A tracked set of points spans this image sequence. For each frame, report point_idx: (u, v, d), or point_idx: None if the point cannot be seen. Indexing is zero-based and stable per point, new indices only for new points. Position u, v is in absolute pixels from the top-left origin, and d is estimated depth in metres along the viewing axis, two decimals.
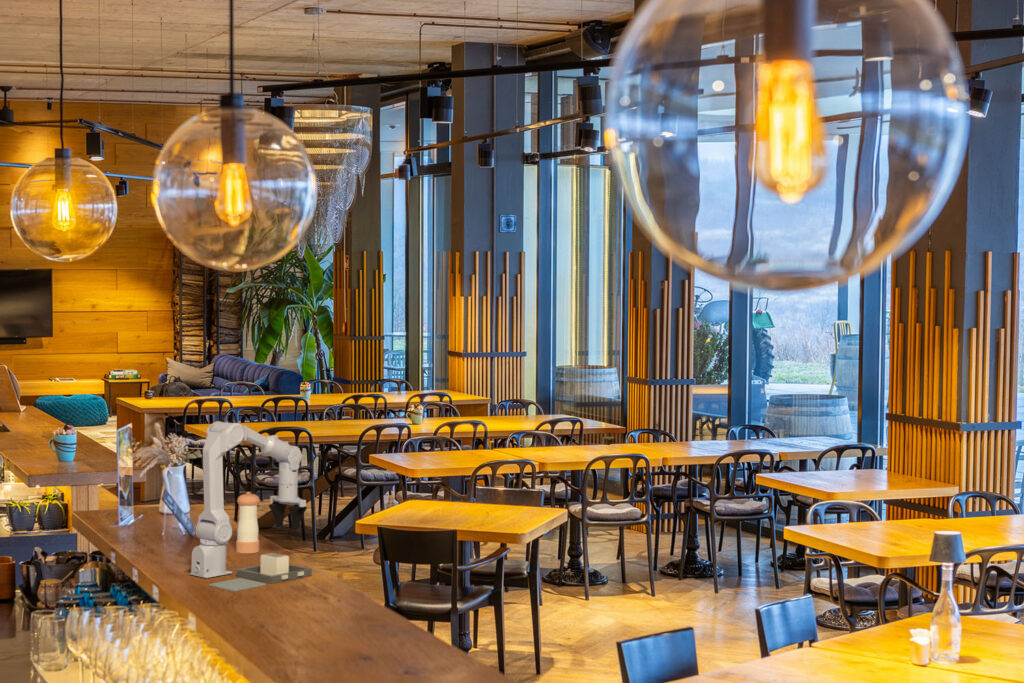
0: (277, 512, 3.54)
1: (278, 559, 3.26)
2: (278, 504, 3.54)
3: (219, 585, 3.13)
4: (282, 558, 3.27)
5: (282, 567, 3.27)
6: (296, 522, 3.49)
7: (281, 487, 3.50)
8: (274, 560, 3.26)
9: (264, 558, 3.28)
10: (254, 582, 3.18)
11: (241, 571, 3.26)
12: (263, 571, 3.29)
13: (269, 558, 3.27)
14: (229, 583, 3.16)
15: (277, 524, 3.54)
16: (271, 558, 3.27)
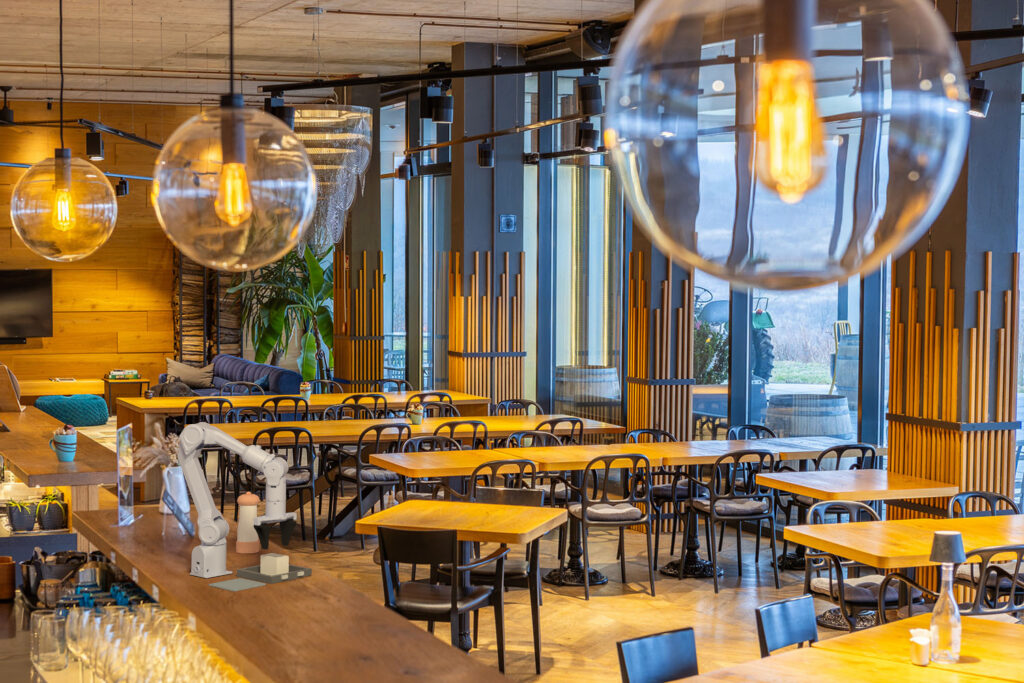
0: (282, 529, 3.33)
1: (278, 559, 3.26)
2: (284, 521, 3.32)
3: (219, 585, 3.13)
4: (282, 558, 3.27)
5: (282, 567, 3.27)
6: (263, 541, 3.26)
7: None
8: (274, 560, 3.26)
9: (264, 558, 3.28)
10: (254, 582, 3.18)
11: (241, 571, 3.26)
12: (263, 571, 3.29)
13: (269, 558, 3.27)
14: (229, 583, 3.16)
15: (282, 542, 3.32)
16: (271, 558, 3.27)
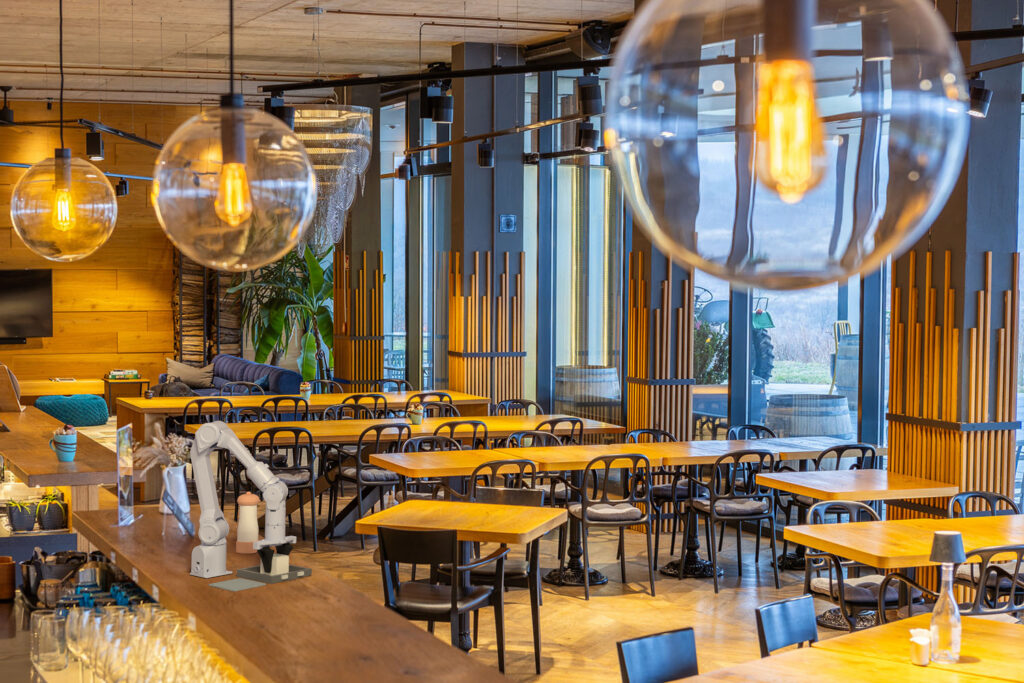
0: None
1: (278, 559, 3.26)
2: (280, 545, 3.31)
3: (219, 585, 3.13)
4: (282, 558, 3.27)
5: (282, 567, 3.27)
6: (266, 565, 3.27)
7: None
8: (274, 560, 3.26)
9: None
10: (254, 582, 3.18)
11: (241, 571, 3.26)
12: (263, 571, 3.29)
13: None
14: (229, 583, 3.16)
15: None
16: None
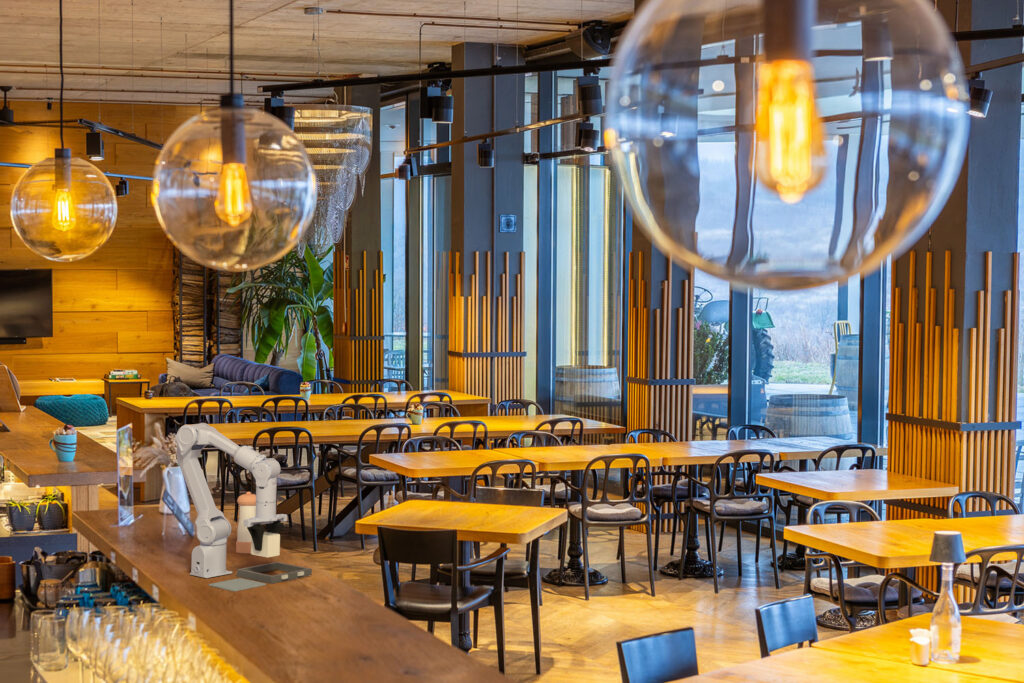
0: None
1: (269, 537, 3.22)
2: (270, 523, 3.28)
3: (219, 585, 3.13)
4: (273, 536, 3.23)
5: (273, 545, 3.23)
6: (256, 542, 3.23)
7: None
8: (265, 538, 3.22)
9: None
10: (254, 582, 3.18)
11: (241, 571, 3.26)
12: (254, 549, 3.25)
13: None
14: (229, 583, 3.16)
15: None
16: None
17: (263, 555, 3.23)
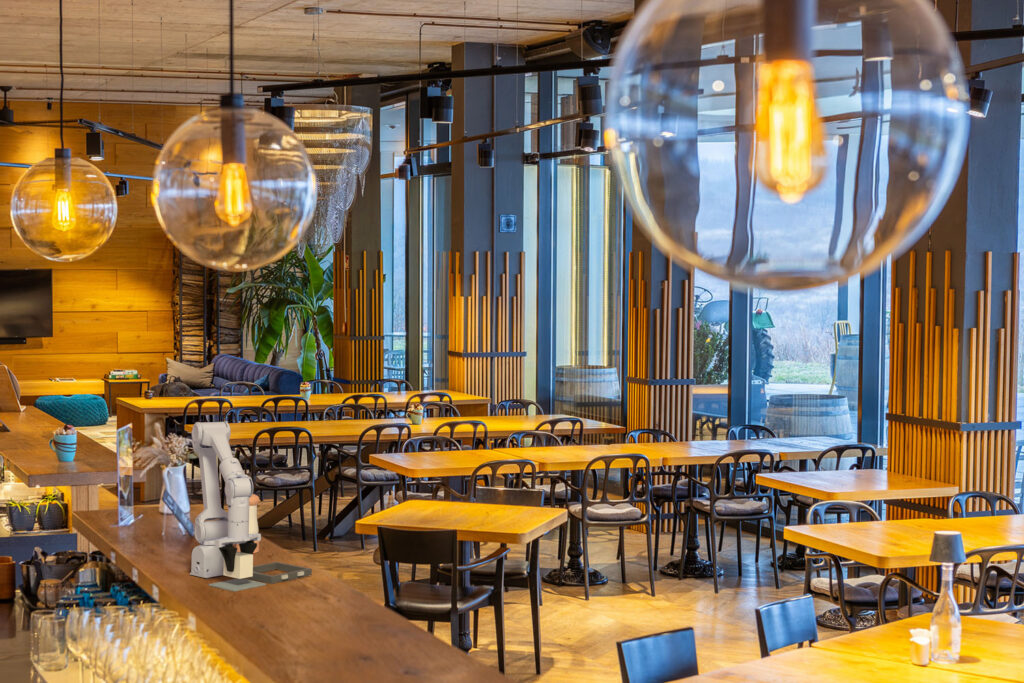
0: (242, 552, 3.18)
1: (241, 558, 3.12)
2: (243, 543, 3.18)
3: (219, 585, 3.13)
4: (246, 557, 3.14)
5: (245, 566, 3.14)
6: (228, 563, 3.14)
7: None
8: (237, 559, 3.12)
9: None
10: (254, 582, 3.18)
11: None
12: (226, 570, 3.15)
13: None
14: (229, 583, 3.16)
15: None
16: None
17: (235, 576, 3.13)
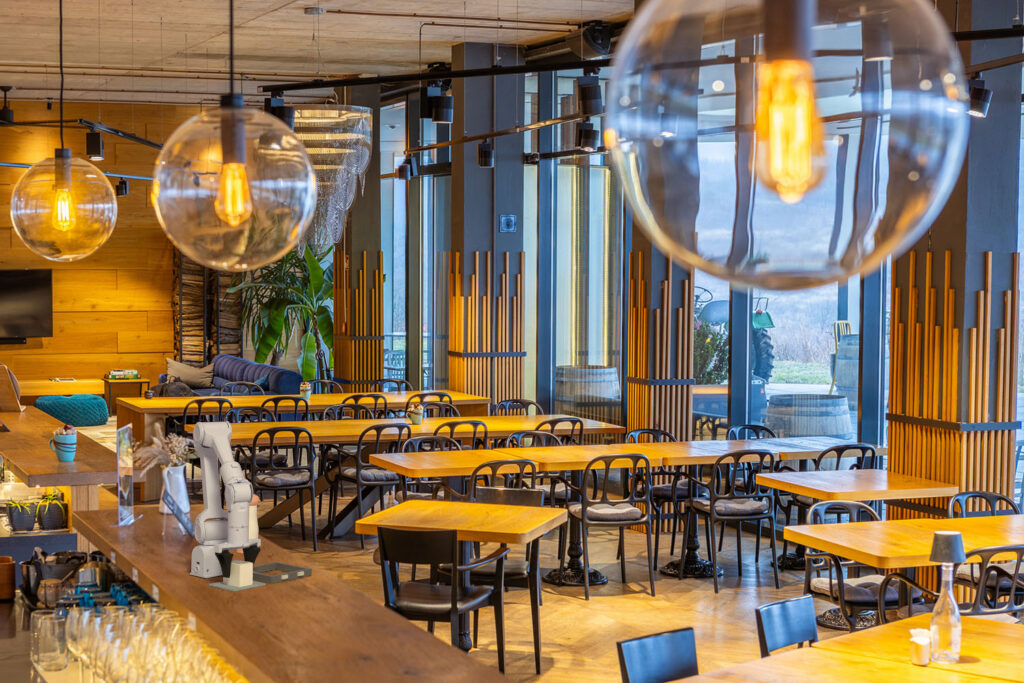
0: (246, 556, 3.19)
1: (241, 566, 3.12)
2: (247, 548, 3.19)
3: (219, 585, 3.13)
4: (246, 565, 3.14)
5: (245, 574, 3.14)
6: (224, 569, 3.13)
7: None
8: (237, 567, 3.13)
9: None
10: (254, 582, 3.18)
11: None
12: (226, 578, 3.15)
13: (232, 565, 3.14)
14: None
15: None
16: (234, 565, 3.13)
17: (235, 584, 3.13)
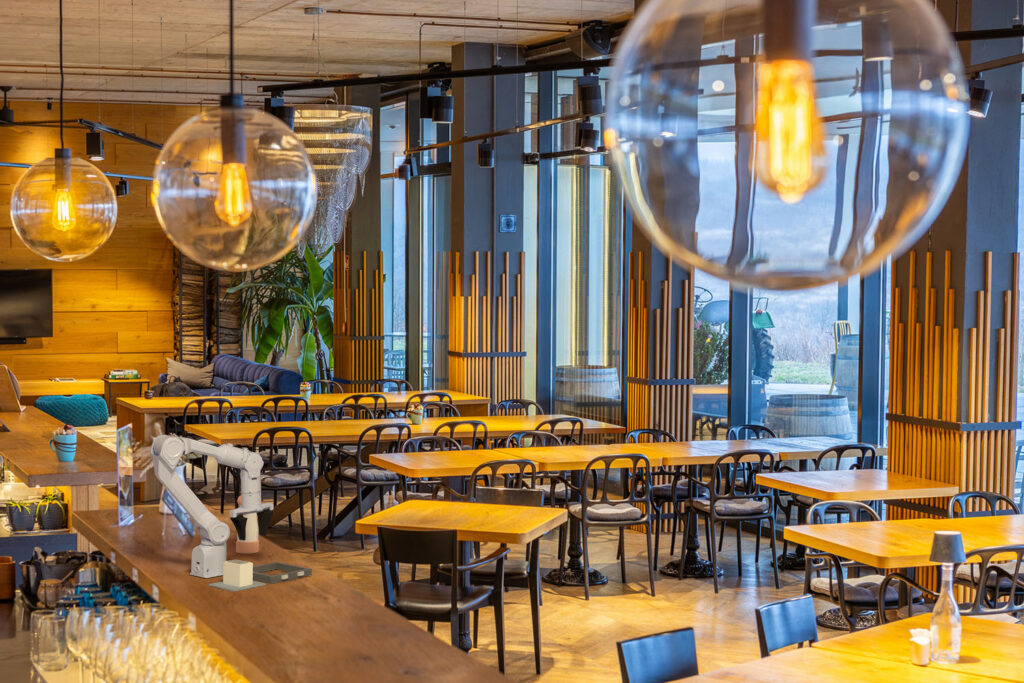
0: (260, 520, 3.40)
1: (241, 566, 3.12)
2: (261, 512, 3.40)
3: (219, 585, 3.13)
4: (246, 565, 3.14)
5: (245, 574, 3.14)
6: (240, 532, 3.34)
7: None
8: (237, 567, 3.13)
9: (227, 565, 3.15)
10: (254, 582, 3.18)
11: None
12: (226, 578, 3.15)
13: (232, 565, 3.14)
14: None
15: (260, 532, 3.40)
16: (234, 565, 3.13)
17: (235, 584, 3.13)
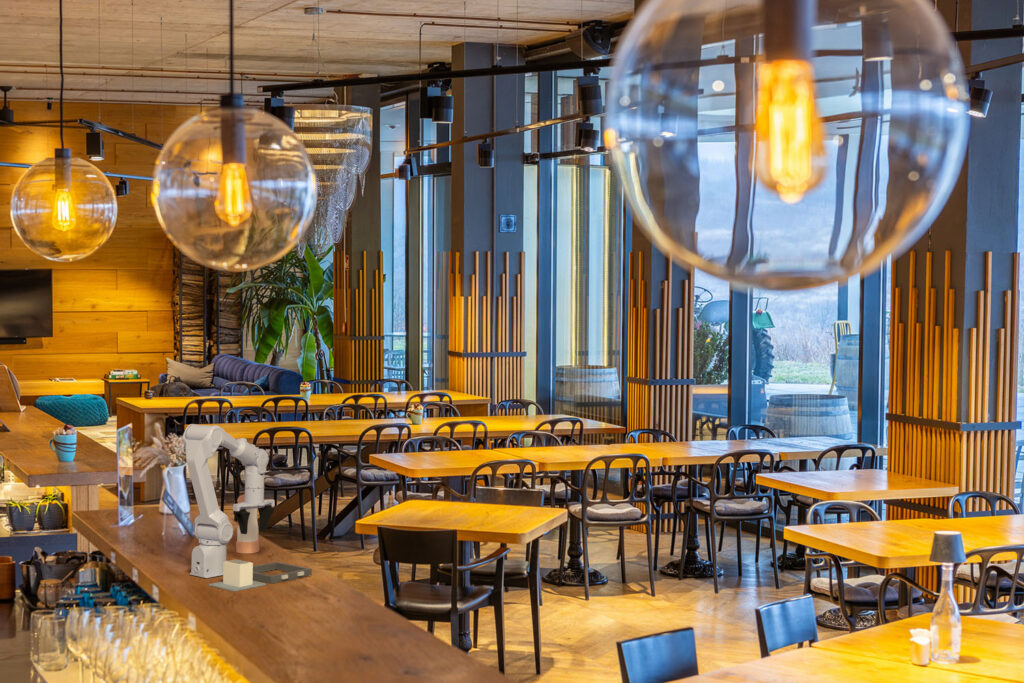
0: (261, 515, 3.50)
1: (241, 566, 3.12)
2: (262, 508, 3.50)
3: (219, 585, 3.13)
4: (246, 565, 3.14)
5: (245, 574, 3.14)
6: (242, 526, 3.44)
7: None
8: (237, 567, 3.13)
9: (227, 565, 3.15)
10: (254, 582, 3.18)
11: None
12: (226, 578, 3.15)
13: (232, 565, 3.14)
14: None
15: (260, 528, 3.50)
16: (234, 565, 3.13)
17: (235, 584, 3.13)
